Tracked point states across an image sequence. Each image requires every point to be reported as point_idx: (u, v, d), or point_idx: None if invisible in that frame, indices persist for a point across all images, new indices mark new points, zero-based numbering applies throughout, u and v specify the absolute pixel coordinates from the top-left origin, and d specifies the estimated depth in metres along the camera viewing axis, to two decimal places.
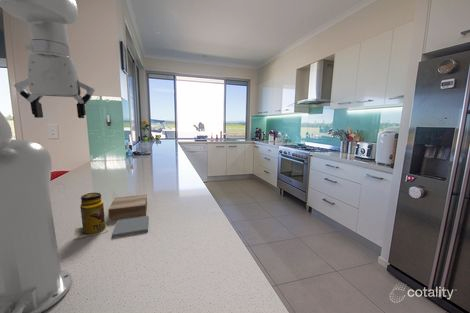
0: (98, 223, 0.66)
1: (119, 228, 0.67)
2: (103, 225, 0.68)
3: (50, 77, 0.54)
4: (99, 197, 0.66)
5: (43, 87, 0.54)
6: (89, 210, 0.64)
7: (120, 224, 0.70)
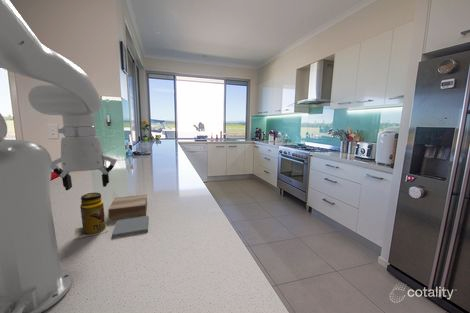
0: (98, 223, 0.66)
1: (119, 228, 0.67)
2: (103, 225, 0.68)
3: (79, 157, 0.61)
4: (99, 197, 0.66)
5: (74, 165, 0.61)
6: (89, 210, 0.64)
7: (120, 224, 0.70)
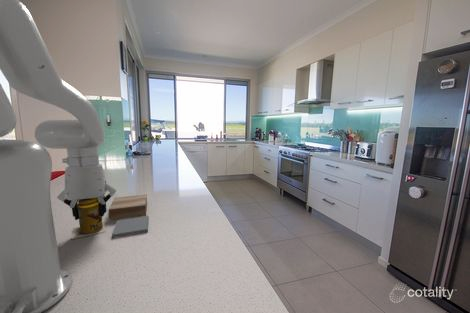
0: (96, 223, 0.66)
1: (119, 228, 0.67)
2: (100, 225, 0.68)
3: (83, 186, 0.62)
4: None
5: (77, 194, 0.62)
6: (86, 210, 0.64)
7: (120, 224, 0.70)
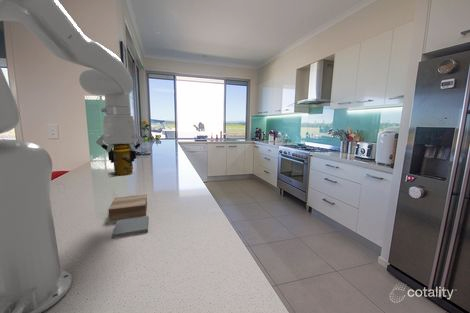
0: (128, 166, 0.76)
1: (119, 228, 0.67)
2: (131, 169, 0.78)
3: (118, 132, 0.73)
4: (128, 144, 0.76)
5: (113, 139, 0.73)
6: (121, 154, 0.74)
7: (120, 224, 0.70)
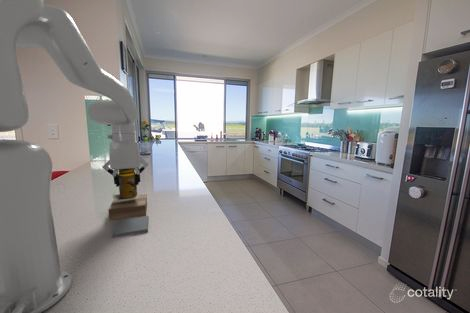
0: (132, 189, 0.79)
1: (119, 228, 0.67)
2: (136, 192, 0.81)
3: (124, 157, 0.76)
4: None
5: (119, 164, 0.76)
6: (126, 178, 0.77)
7: (120, 224, 0.70)
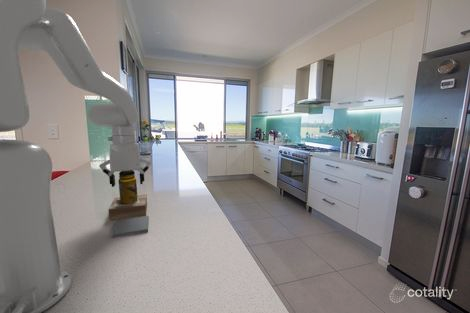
0: (133, 195, 0.79)
1: (119, 228, 0.67)
2: (136, 197, 0.81)
3: (124, 159, 0.76)
4: (133, 173, 0.79)
5: (119, 166, 0.76)
6: (126, 184, 0.77)
7: (120, 224, 0.70)
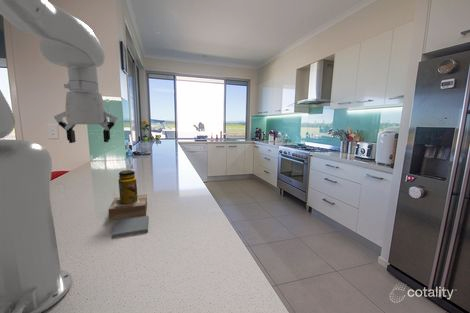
0: (133, 195, 0.79)
1: (119, 228, 0.67)
2: (136, 197, 0.81)
3: (82, 110, 0.65)
4: (133, 173, 0.79)
5: (77, 118, 0.65)
6: (126, 184, 0.77)
7: (120, 224, 0.70)
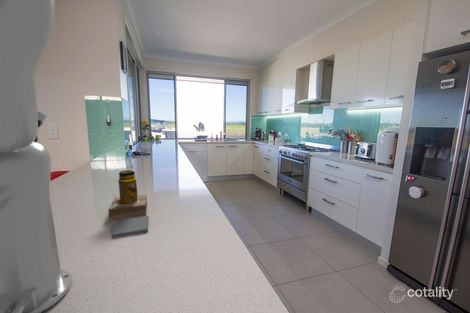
0: (133, 195, 0.79)
1: (119, 228, 0.67)
2: (136, 197, 0.81)
3: None
4: (133, 173, 0.79)
5: None
6: (126, 184, 0.77)
7: (120, 224, 0.70)
